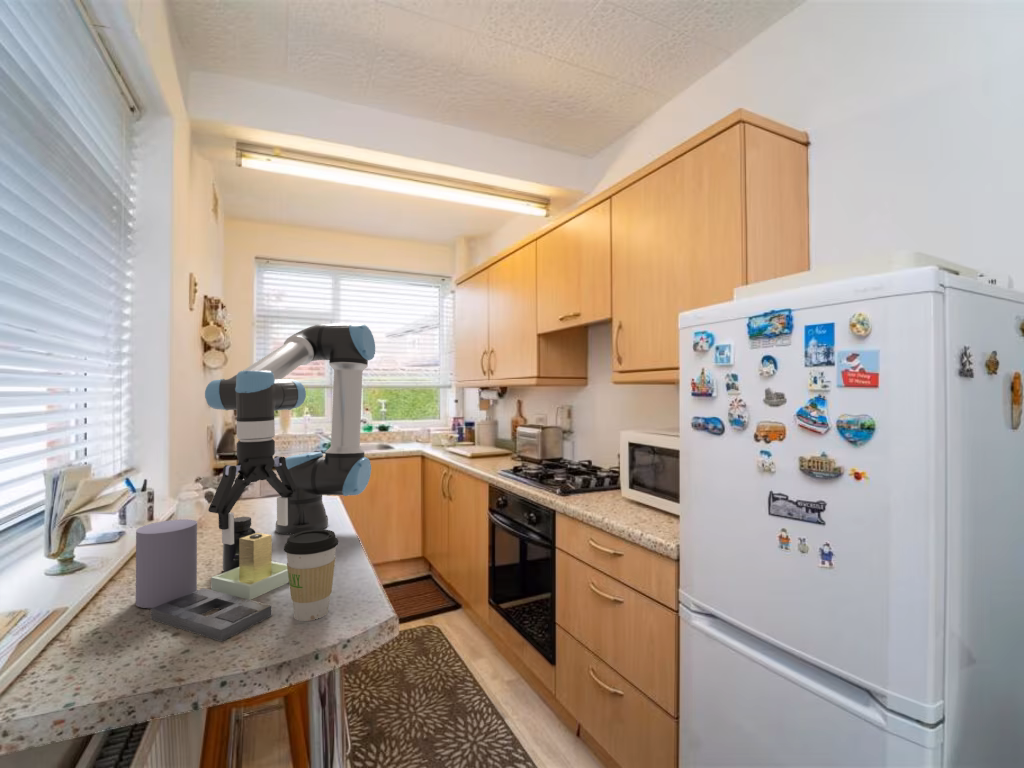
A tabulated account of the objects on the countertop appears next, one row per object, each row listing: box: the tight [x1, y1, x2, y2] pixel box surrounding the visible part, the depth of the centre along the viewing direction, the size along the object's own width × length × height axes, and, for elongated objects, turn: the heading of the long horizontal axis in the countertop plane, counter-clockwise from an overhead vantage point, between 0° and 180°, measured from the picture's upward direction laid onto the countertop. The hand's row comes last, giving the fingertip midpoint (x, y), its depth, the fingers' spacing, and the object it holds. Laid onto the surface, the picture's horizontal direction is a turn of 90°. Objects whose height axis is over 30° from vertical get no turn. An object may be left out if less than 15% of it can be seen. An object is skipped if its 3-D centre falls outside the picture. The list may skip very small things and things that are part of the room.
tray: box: [210, 560, 289, 600], centre depth 105 cm, size 12×12×3 cm
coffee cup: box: [283, 529, 339, 622], centre depth 91 cm, size 10×10×15 cm
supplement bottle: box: [222, 516, 256, 573], centre depth 114 cm, size 7×7×12 cm
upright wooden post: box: [239, 532, 273, 584], centre depth 105 cm, size 4×4×10 cm
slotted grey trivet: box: [150, 587, 273, 642], centre depth 90 cm, size 10×20×2 cm, turn 67°
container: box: [135, 518, 198, 610], centre depth 98 cm, size 10×10×15 cm
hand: (256, 533), depth 105 cm, fingers open, 13 cm apart
